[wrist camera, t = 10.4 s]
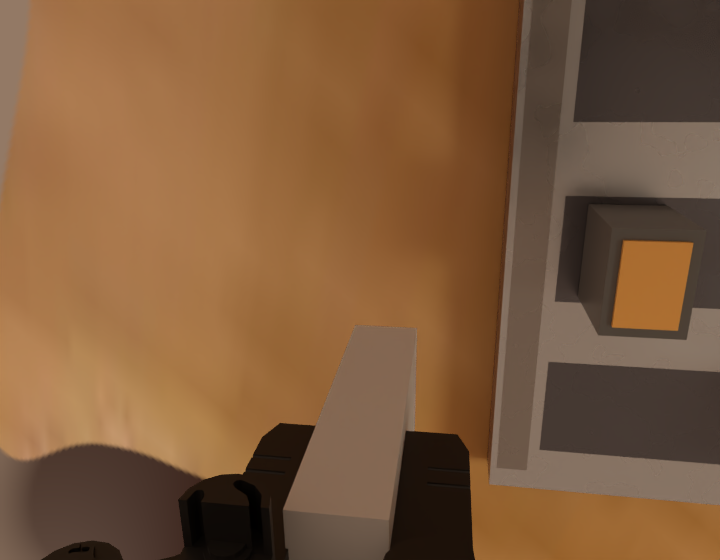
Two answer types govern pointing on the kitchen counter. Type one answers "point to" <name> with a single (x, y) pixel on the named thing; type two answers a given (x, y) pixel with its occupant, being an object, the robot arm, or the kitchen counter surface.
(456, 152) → the kitchen counter surface
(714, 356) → the breaker panel
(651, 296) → the block
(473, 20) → the kitchen counter surface
